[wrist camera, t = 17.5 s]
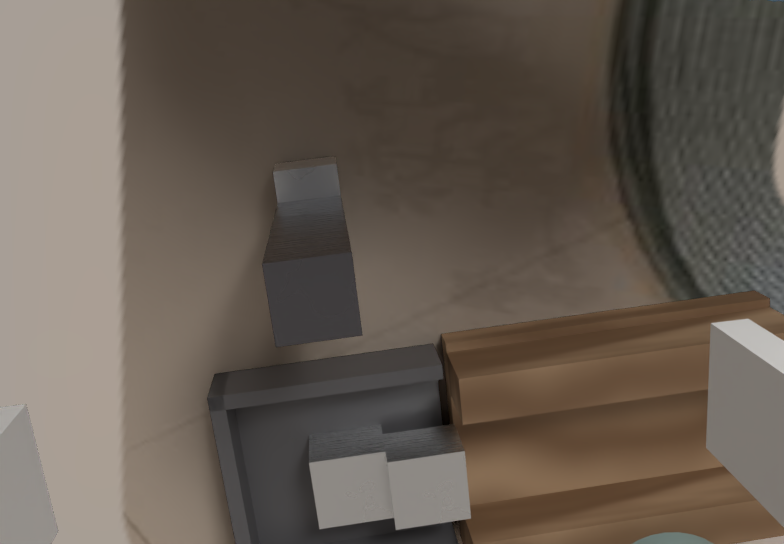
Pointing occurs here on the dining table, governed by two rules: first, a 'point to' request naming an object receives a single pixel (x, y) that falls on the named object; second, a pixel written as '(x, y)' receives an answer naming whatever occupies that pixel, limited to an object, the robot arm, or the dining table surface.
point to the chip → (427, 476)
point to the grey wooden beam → (310, 257)
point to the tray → (314, 416)
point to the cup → (673, 539)
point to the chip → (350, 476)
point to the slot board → (599, 426)
